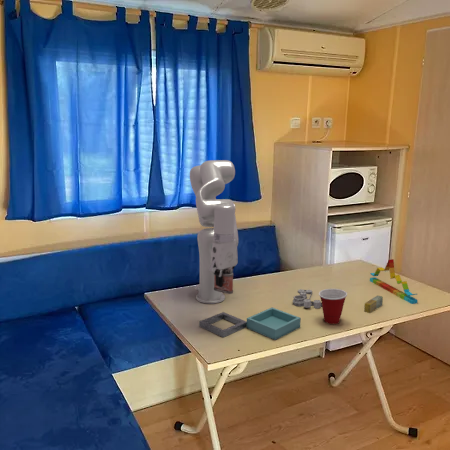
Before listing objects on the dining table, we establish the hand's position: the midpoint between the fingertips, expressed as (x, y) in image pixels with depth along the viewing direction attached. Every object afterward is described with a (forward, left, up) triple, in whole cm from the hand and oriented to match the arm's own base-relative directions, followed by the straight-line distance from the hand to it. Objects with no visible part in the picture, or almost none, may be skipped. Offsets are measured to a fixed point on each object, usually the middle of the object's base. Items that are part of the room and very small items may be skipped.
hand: (223, 283), depth 179 cm
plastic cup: (+26, +34, -17) cm, 46 cm away
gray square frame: (0, 0, -17) cm, 17 cm away
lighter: (0, 0, -3) cm, 3 cm away
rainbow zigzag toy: (+28, +82, -18) cm, 89 cm away
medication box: (+31, +58, -18) cm, 68 cm away
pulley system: (+9, +43, -18) cm, 48 cm away
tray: (+14, +13, -17) cm, 26 cm away
